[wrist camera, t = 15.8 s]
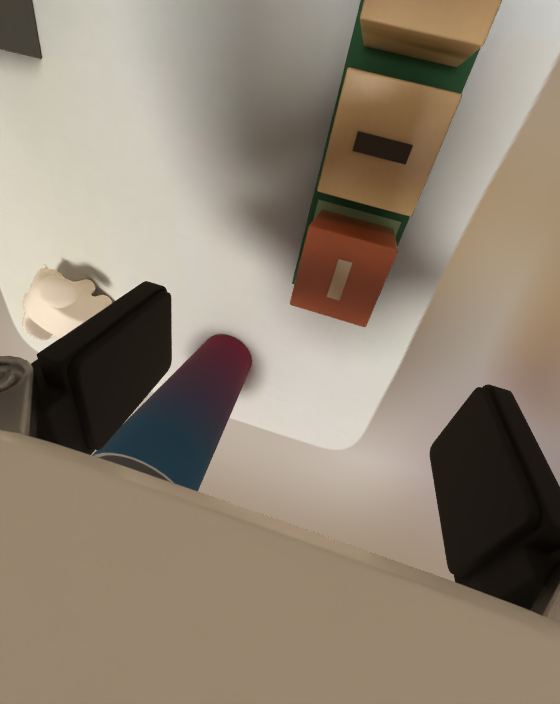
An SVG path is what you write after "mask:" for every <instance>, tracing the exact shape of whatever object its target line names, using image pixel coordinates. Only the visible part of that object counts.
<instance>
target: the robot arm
mask: <svg viewBox="0 0 560 704" xmlns="http://www.w3.org/2000/svg"><path fill="white" fill-rule="evenodd" d="M37 357H38V359H37V360H36V361H34V362H33V363H32V364H30V363H29V362H28V361H27V360H24V359H22V358H19V357H12V356H0V704H560V487H559V485H558V483H557V481H556V479H555V477H554V475H553V473H552V471H551V469H550V467H549V465H548V463H547V461H546V459H545V457H544V455H543V453H542V451H541V449H540V447H539V445H538V443H537V441H536V439H535V437H534V435H533V433H532V432H531V429H530V427H529V426H528V423H527V422H526V419H525V418H524V416H523V414H522V412H521V410H520V408H519V406H518V404H517V402H516V400H515V398H514V396H513V394H512V393H511V391H508V390H505V389H502V388H498V387H495V386H492V385H485V386H483V387H482V388H481V387H478V388H476V389H475V390H474V391H473V392H472V394H471V395H470V396H469V398H468V399H467V400H466V402H465V403H464V404H463V405H462V407H461V408H460V409H459V410H458V412H457V413H456V414H455V416H454V417H453V418H452V419H451V421H450V422H449V423H448V425H447V426H446V427H445V428H444V430H443V431H442V432H441V434H440V435H439V436H438V438H437V439H436V440H435V441H434V443H433V444H432V446H431V449H430V460H431V467H432V473H433V479H434V485H435V492H436V498H437V504H438V510H439V516H440V522H441V529H442V535H443V540H444V547H445V553H446V560H447V565H448V569H449V571H450V572H451V573H452V574H454V578H455V582H453V581H450V580H448V579H444V578H442V577H439V576H436V575H433V574H431V573H428V572H425V571H422V570H419V569H417V568H414V567H411V566H408V565H405V564H403V563H399V562H397V561H394V560H391V559H388V558H385V557H383V556H380V555H377V554H374V553H372V552H369V551H366V550H363V549H360V548H358V547H354V546H352V545H349V544H346V543H343V542H341V541H338V540H335V539H332V538H329V537H326V536H323V535H320V534H318V533H315V532H312V531H309V530H306V529H303V528H300V527H298V526H295V525H292V524H289V523H286V522H284V521H281V520H278V519H275V518H272V517H269V516H266V515H264V514H261V513H258V512H255V511H252V510H249V509H246V508H243V507H241V506H238V505H235V504H232V503H229V502H226V501H224V500H220V499H218V498H215V497H212V496H209V495H206V494H203V493H200V492H198V491H195V490H192V489H189V488H186V487H183V486H180V485H177V484H174V483H171V482H168V481H166V480H163V479H160V478H157V477H154V476H151V475H148V474H145V473H142V472H139V471H137V470H134V469H131V468H128V467H125V466H122V465H119V464H116V463H113V462H110V461H107V460H104V459H101V458H98V457H95V456H92V455H91V454H92V453H93V452H94V450H95V449H96V450H100V449H102V448H103V447H104V446H105V445H106V443H107V442H108V441H109V440H110V439H111V438H112V436H113V435H114V434H115V433H116V432H117V430H118V429H119V428H120V427H121V426H122V425H123V423H124V422H125V421H126V420H127V419H128V417H129V416H130V415H131V414H132V413H133V411H134V410H135V409H136V408H137V407H138V406H139V404H140V403H141V402H142V401H143V399H144V398H145V397H146V396H147V395H148V394H149V393H150V391H151V390H152V389H153V388H154V387H155V386H156V384H157V383H158V382H159V381H160V380H161V378H162V377H163V376H164V375H165V374H166V373H167V371H168V370H169V368H170V365H171V361H172V342H171V295H170V293H168V292H167V290H166V288H165V287H164V286H161V285H158V284H154V283H151V282H147V281H145V282H143V283H141V284H140V285H138V286H137V287H135V288H134V289H132V290H131V291H129V292H128V293H127V294H125V295H124V296H122V297H121V298H119V299H118V300H116V301H115V302H113V303H112V304H110V305H109V306H107V307H106V308H104V309H103V310H101V311H100V312H98V313H97V314H95V315H94V316H93V317H91V318H90V319H88V320H87V321H85V322H84V323H82V324H81V325H79V326H78V327H76V328H75V329H73V330H72V331H70V332H69V333H67V334H66V335H64V336H63V337H62V338H60V339H59V340H57V341H56V342H54V343H53V344H51V345H50V346H48V347H47V348H45V349H44V350H42V351H41V352H39V353H38V354H37Z"/></svg>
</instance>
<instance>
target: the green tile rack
mask: <svg viewBox="0 0 560 704" xmlns="http://www.w3.org/2000/svg"><path fill="white" fill-rule="evenodd" d="M501 2H502V0H361V2H360V6H359V10H358V14H357V18H356V23H355V27H354V31H353V35H352V39H351V43H350V47H349V51H348V56H347V60H346V64H345V68H344V72H343V76H342V80H341V84H340V89H339V93H338V97H337V101H336V105H335V109H334V113H333V117H332V121H331V126H330V130H329V134H328V138H327V142H326V146H325V150H324V154H323V159H322V163H321V167H320V171H319V175H318V179H317V183H316V187H315V192H314V196H313V200H312V204H311V208H310V212H309V216H308V220H307V225H306V229H305V233H304V237H303V241H302V245H301V249H300V253H299V258H298V262H297V266H296V270H295V274H294V278H293V282H292V283H293V284H295V280H296V276H297V272H298V268H299V264H300V260H301V256H302V252H303V248H304V244H305V240H306V236H307V232H308V228H309V226H310V224H311V223H312V221H313V220H314V219H315V217H316V216H317V215H318V213H319V212H320V211H321V210H322V209H323V210H327V211H330V212H334V213H338V214H341V215H345V216H348V217H352V218H356V219H359V220H363V221H367V222H370V223H374V224H378V225H381V226H385V227H389V228H392V229H394V233H395V238H396V244H397V246H398V244H399V242H400V239H401V237H402V234H403V232H404V230H405V227H406V225H407V222H408V220H409V218H410V216H412V214H413V212H414V209H415V207H416V204H417V202H418V200H419V197H420V195H421V192H422V190H423V188H424V185H425V183H426V181H427V178H428V176H429V173H430V171H431V169H432V166H433V164H434V161H435V159H436V157H437V154H438V152H439V150H440V147H441V145H442V142H443V140H444V138H445V135H446V133H447V131H448V128H449V126H450V123H451V121H452V119H453V116H454V114H455V111H456V109H457V107H458V104H459V102H460V100H461V97H462V95H461V93H462V90H463V88H464V86H465V83H466V81H467V78H468V76H469V74H470V71H471V69H472V67H473V64H474V62H475V59H476V57H477V55H478V52H479V50H480V47H482V46H483V44H484V42H485V40H486V38H487V35H488V33H489V30H490V28H491V26H492V23H493V21H494V19H495V16H496V14H497V11H498V9H499V7H500V4H501Z"/></svg>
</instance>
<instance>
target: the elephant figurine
mask: <svg viewBox="0 0 560 704" xmlns="http://www.w3.org/2000/svg"><path fill="white" fill-rule="evenodd" d="M43 265H44V266H45V268H42V269H40V270H39V271H38V272H37V273H36V275H35V277H34V280H33V283H32V284H31V286H30V288H29V290H28V292H27V293H26V295H25V296H24V299H23V308H24V310H25V313H24V317H23V328H24V330H25V331H26V332H27V333H28V334H29V335H30V336H32V337H34V338H36V339H39V340H47V339H49V338H50V337H51V336H52V335H55V336H57V337H60V338H62V337H63V336H64V335H66V334H67V333H69V332H70V331H72V330H73V329H75V328H76V327H78V326H79V325H81V324H82V323H84V322H85V321H87V320H88V319H90V318H91V317H93V316H94V315H95V314H97V313H98V312H100V311H101V310H103V309H104V308H106V307H107V306H109V305H110V304H112V301H111V299H110V298H109V297H107V296H105V295H98V296H95V297H94V296H92V295H91V294H92V293H93V292H94V291H95V285H94V283H93V282H92V281H91V280H88V279H85V280H81V281H75V282H74V281H70V280H68V279H66V278H64V277H63V276H62V274H61V273H60V272H57V271H55V270H52V269H48V267H47V266H46V265H45V264H43Z"/></svg>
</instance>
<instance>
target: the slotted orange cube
mask: <svg viewBox="0 0 560 704" xmlns="http://www.w3.org/2000/svg"><path fill="white" fill-rule="evenodd" d="M397 252H398V249H397V244H396V238H395V233H394V229H392V228H389V227H385V226H381V225H378V224H374V223H370V222H367V221H363V220H359V219H356V218H352V217H348V216H345V215H341V214H338V213H334V212H330V211H327V210H323V209H322V210H321V211H320V212H319V213H318V215H317V216H316V217H315V219H314V220H313V221H312V223H311V224H310V226H309V228H308V232H307V236H306V240H305V244H304V248H303V252H302V256H301V260H300V264H299V268H298V272H297V276H296V280H295V284H294V288H293V292H292V296H291V300H290V305H293V306H296V307H299V308H303V309H306V310H309V311H313V312H316V313H319V314H323V315H326V316H329V317H333V318H336V319H339V320H343V321H346V322H349V323H353V324H356V325H359V326H362V327H366V326H367V323H368V321H369V319H370V316H371V314H372V311H373V309H374V307H375V304H376V302H377V300H378V297H379V295H380V292H381V290H382V288H383V285H384V283H385V281H386V278H387V276H388V273H389V271H390V269H391V266H392V264H393V262H394V259H395V257H396V254H397Z"/></svg>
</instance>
